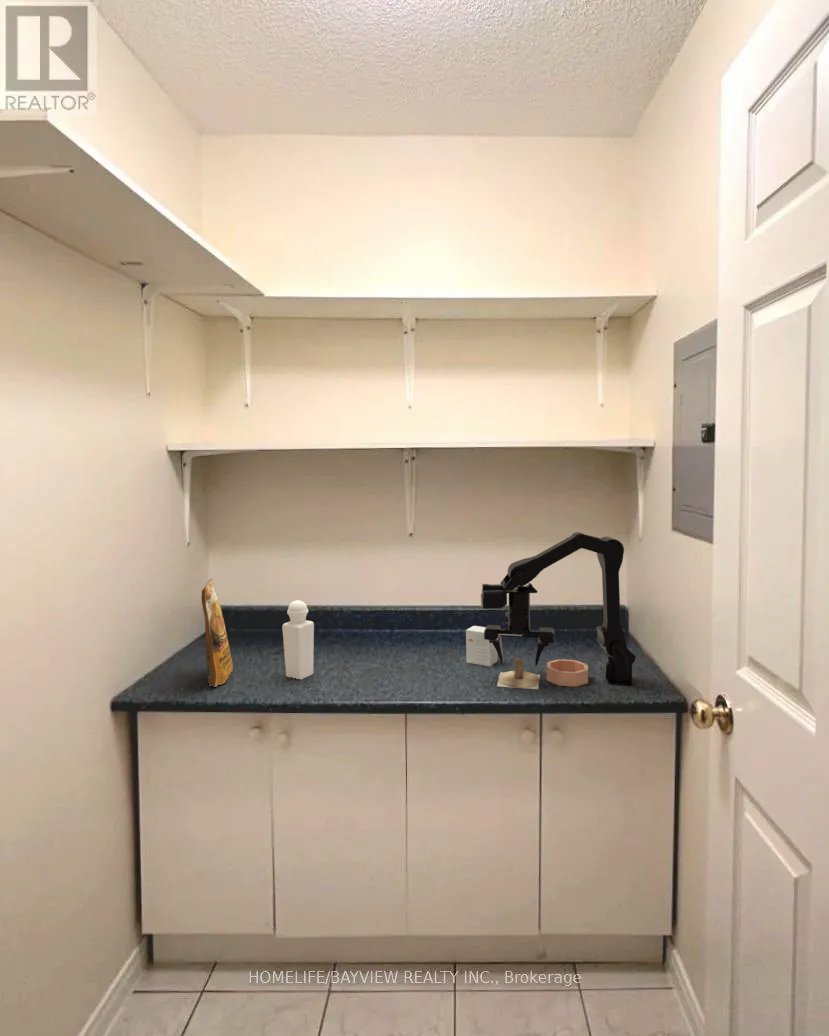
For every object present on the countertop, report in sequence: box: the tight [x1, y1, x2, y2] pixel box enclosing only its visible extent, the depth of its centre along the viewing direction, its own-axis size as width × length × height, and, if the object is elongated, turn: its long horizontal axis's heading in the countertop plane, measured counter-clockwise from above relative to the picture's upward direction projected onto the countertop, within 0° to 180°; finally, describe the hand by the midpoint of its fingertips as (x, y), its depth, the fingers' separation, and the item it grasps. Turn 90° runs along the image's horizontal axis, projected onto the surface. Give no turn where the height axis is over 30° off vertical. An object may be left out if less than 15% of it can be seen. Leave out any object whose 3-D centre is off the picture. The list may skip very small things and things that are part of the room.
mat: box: [496, 672, 541, 690], centre depth 169 cm, size 11×11×1 cm
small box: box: [465, 625, 498, 667], centre depth 185 cm, size 8×6×10 cm
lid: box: [498, 658, 540, 689], centre depth 169 cm, size 11×11×6 cm
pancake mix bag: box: [200, 578, 234, 687], centre depth 174 cm, size 7×19×28 cm, turn 5°
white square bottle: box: [281, 599, 315, 681], centre depth 176 cm, size 6×6×22 cm
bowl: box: [546, 658, 589, 688], centre depth 170 cm, size 11×11×4 cm
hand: (519, 664), depth 169 cm, fingers open, 9 cm apart
